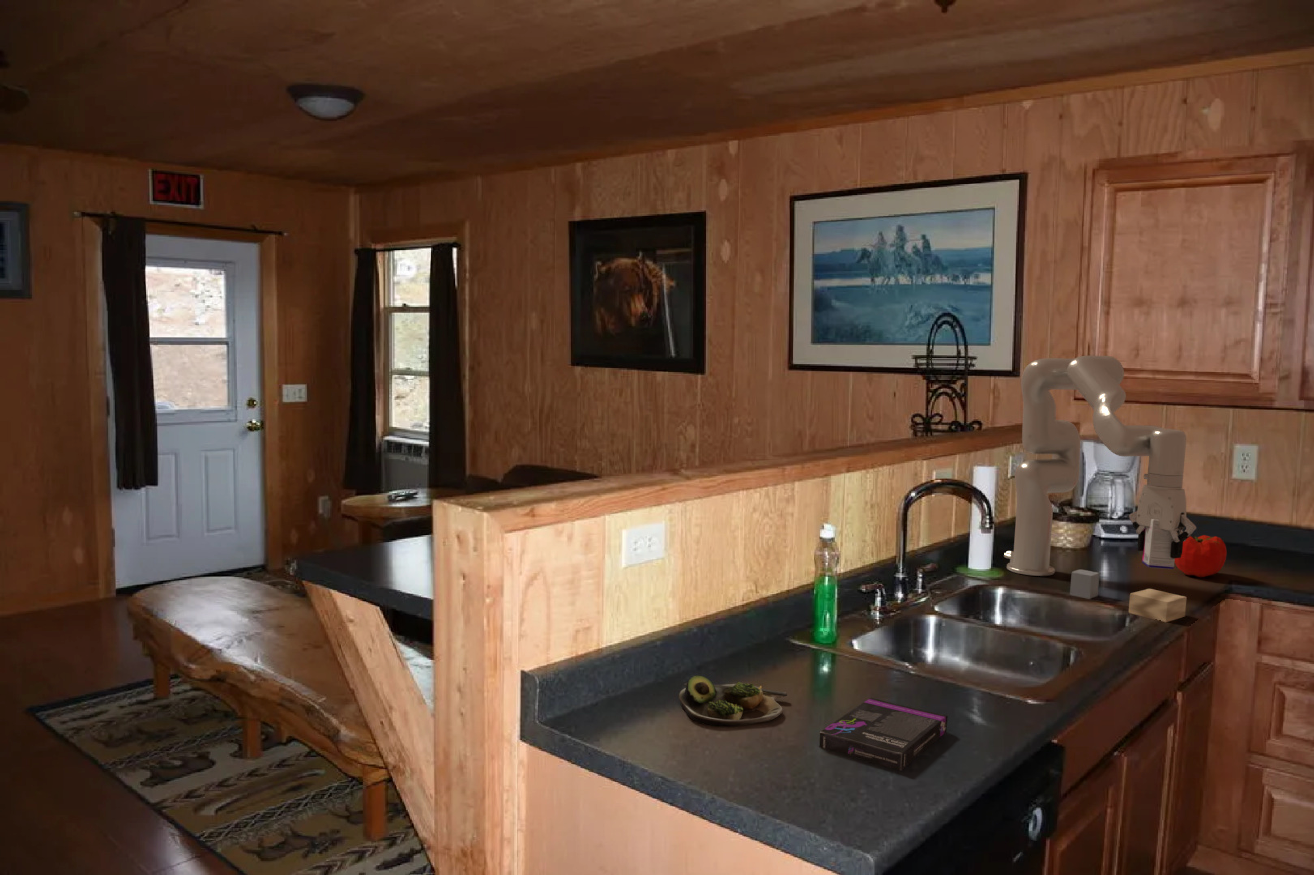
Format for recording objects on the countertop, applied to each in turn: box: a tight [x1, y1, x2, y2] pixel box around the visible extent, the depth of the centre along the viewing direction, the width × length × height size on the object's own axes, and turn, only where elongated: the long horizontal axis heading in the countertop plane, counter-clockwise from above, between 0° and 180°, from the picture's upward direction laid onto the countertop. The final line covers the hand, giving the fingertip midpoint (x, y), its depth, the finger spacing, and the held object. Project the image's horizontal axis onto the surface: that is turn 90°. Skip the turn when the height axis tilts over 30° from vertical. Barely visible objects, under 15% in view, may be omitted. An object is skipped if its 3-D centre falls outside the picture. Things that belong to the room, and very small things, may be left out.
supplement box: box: [1141, 519, 1175, 570], centre depth 238 cm, size 6×6×12 cm
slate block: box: [1069, 568, 1100, 600], centre depth 255 cm, size 5×5×6 cm
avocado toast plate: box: [678, 675, 788, 727], centre depth 174 cm, size 19×18×5 cm
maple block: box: [1128, 588, 1187, 623], centre depth 239 cm, size 9×9×5 cm
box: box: [819, 697, 949, 772], centre depth 162 cm, size 14×4×20 cm
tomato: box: [1174, 534, 1228, 578], centre depth 281 cm, size 13×14×12 cm
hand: (1159, 553), depth 238 cm, fingers closed on supplement box, 7 cm apart
